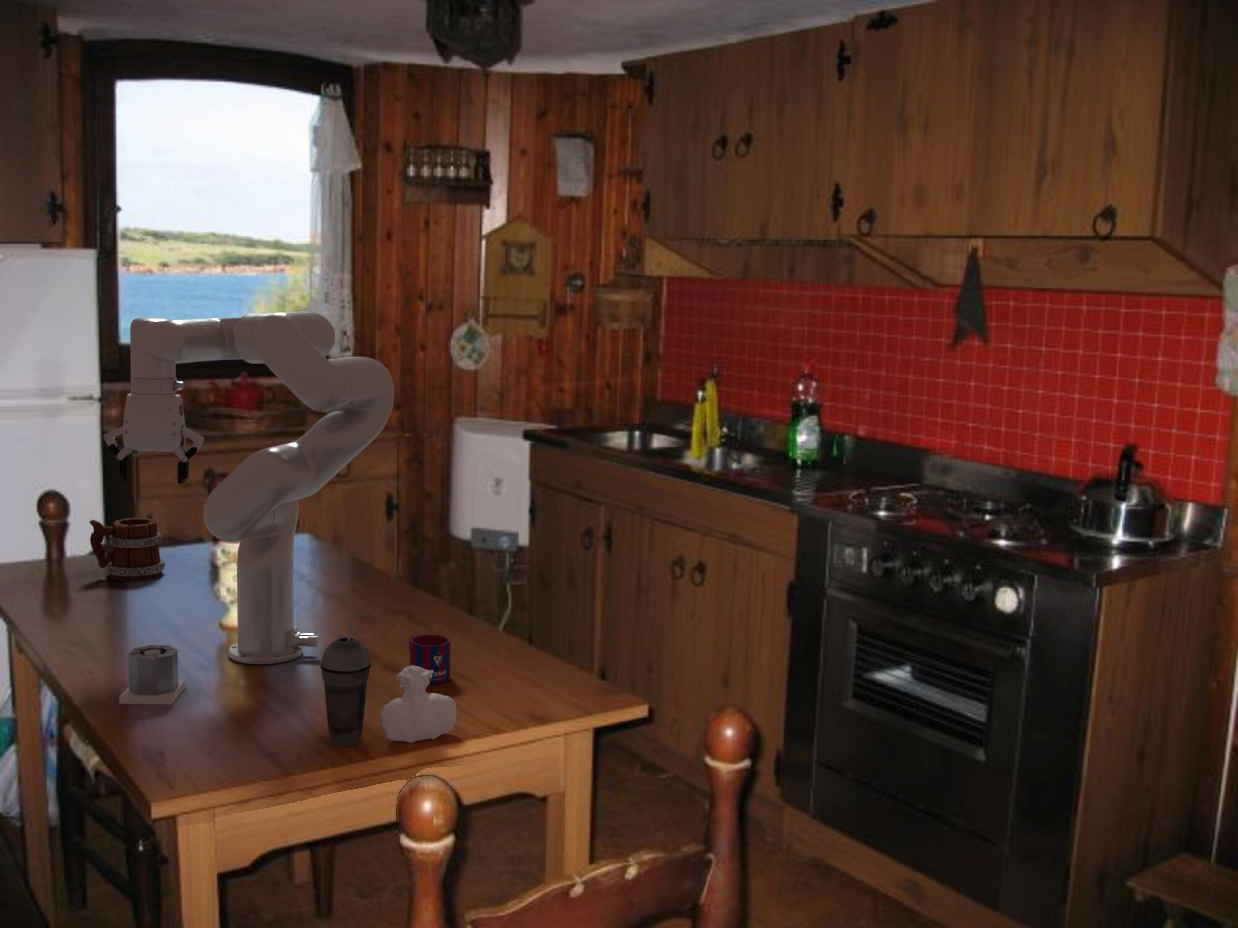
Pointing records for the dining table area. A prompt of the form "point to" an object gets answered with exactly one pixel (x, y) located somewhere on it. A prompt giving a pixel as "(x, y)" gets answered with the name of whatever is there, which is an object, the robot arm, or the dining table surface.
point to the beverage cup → (345, 688)
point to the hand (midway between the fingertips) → (154, 481)
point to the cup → (431, 655)
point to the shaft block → (165, 699)
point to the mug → (129, 549)
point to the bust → (417, 709)
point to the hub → (153, 670)
